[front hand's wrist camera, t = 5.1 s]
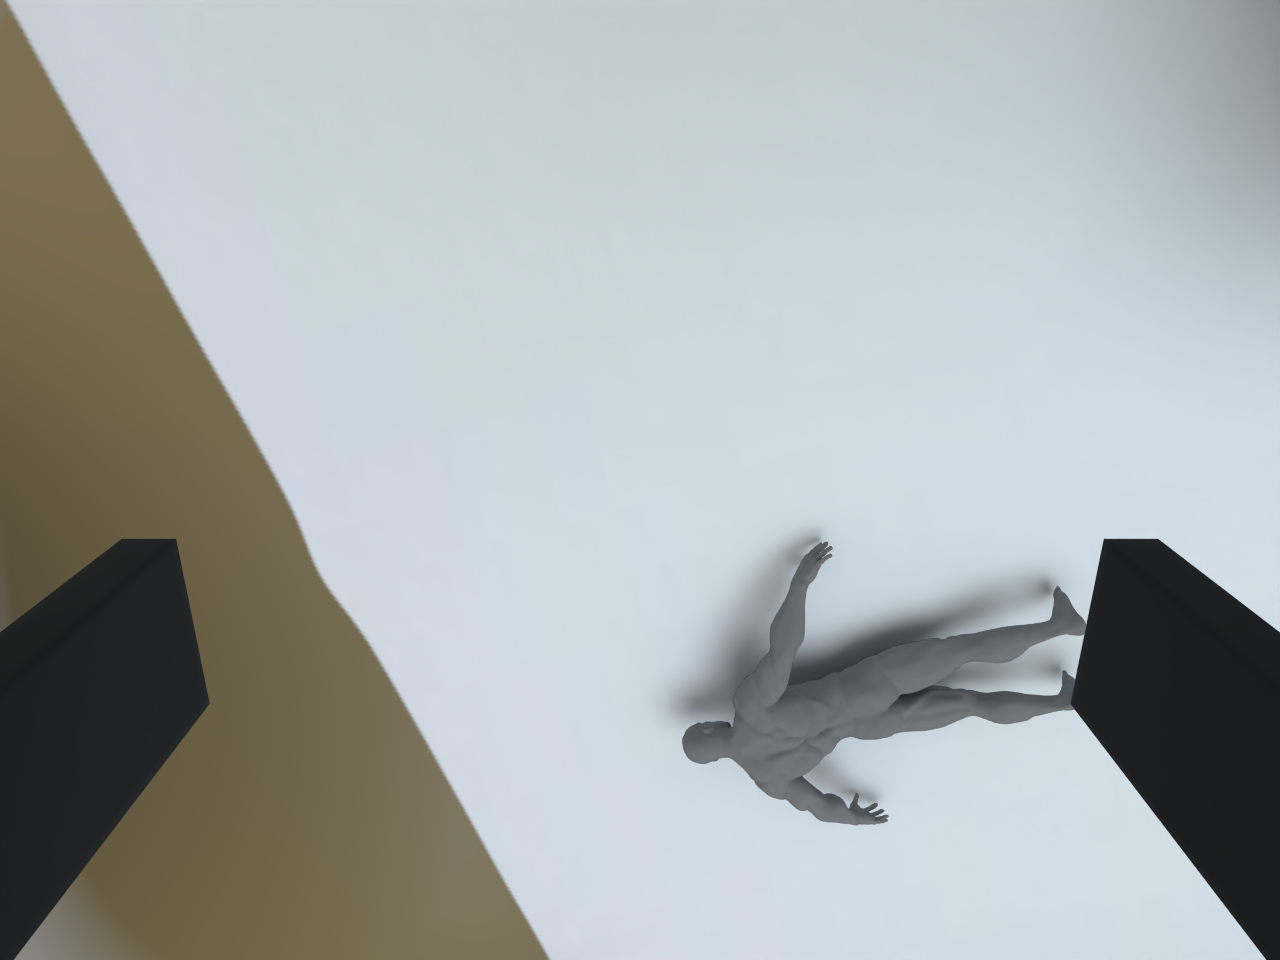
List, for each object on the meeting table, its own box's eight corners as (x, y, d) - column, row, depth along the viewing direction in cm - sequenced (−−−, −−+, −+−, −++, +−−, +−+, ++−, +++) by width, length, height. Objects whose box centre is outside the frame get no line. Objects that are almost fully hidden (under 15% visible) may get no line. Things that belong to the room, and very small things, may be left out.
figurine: (1038, 480, 43) (638, 586, 44) (1085, 513, 39) (643, 629, 40) (1070, 757, 49) (716, 846, 49) (1113, 810, 45) (727, 907, 45)
